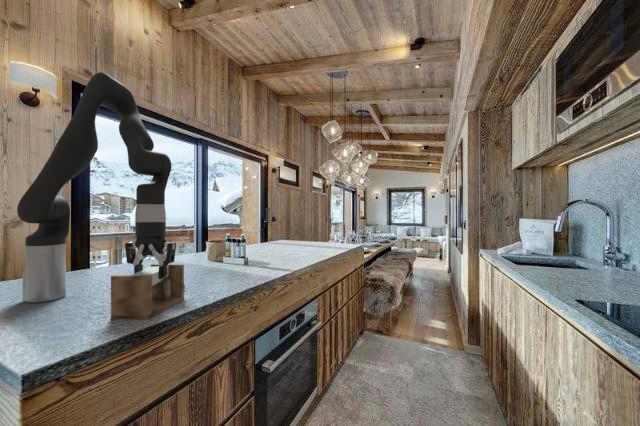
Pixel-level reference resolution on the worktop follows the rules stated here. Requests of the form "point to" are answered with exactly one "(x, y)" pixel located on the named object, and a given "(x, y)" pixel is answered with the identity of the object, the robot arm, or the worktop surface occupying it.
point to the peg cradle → (145, 294)
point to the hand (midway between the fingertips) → (150, 278)
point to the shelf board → (151, 274)
